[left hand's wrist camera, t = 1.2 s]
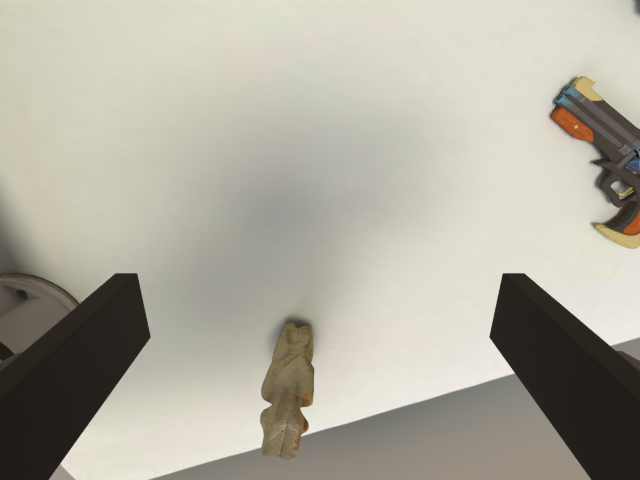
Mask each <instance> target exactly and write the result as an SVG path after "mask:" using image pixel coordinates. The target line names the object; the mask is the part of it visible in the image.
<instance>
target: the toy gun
mask: <svg viewBox="0 0 640 480" xmlns="http://www.w3.org/2000/svg"><path fill="white" fill-rule="evenodd" d="M595 83H596V82H595V81H593V80H591V79H589V78H587V77H585V76H584V77H582V76H581V77H578V78H577V79H576V80H575V81H574V82H573V84H570V85H568V86H567V87H566V88H565V89H564V90H563V93H564V94H561V95H560V96H558V98H557V99H556V101H555V102H557V103H556V105H558V106H559V107H558V108H557V109H556V110H555V111H554V112H553V113H552V115H551V118H553V119H554V120H555V121H556V122H557V123H558V124H559V125H560V126H561V127H562V128H564V129H565V130H566V131H567V132H568V133H569V134H571V135H572V136H573V137H574V138H577V139H581V140H585V141H590V142H592V143H593V144H595V145H596V146H597V147H598V148H600V149H601V150H602V151H603V153H604V154H605V156H606V158H607V160H600V161H596V162H593V163H594V164H596V165H598V166H602V167H605V168H606V169H608V170H609V171H608V174H607V175H605V176H604V177H603V178H602V179H601V181H600V184H599V187H600V188H601V189H602V190H603V191H605V192H606V193H607V195H608V196H609V197H610V199H611V201H612V203H613V205H614V206H616V207H618V208H619V207H621V206H623V205H624V204H626V203H628V202H630V201H631V204H630V205H629V207H628V209H627V211H626V212H625V214H624V215H623V216H622V217H621V218H619V219H618V220H616V221H615V222H613V223H611V224H609V225H603V224H597V225H596V226H595V227H596V228H597V229H598V230H599V231H600V232H602V233H603V234H604V235H606V236H607V237H609V238H610V239H612V240H613V241H615V242H616V243H618V244H619V245H621V246H624V247H626V248H630V249H635V248H638V247H639V246H640V178H639V177H638V176H636V175H635V174H634V173H633V172H637V173H640V149H639V148H640V129H638V128H637V127H635V126H634V125H633V124H632V123H630V122H629V121H628V120H627V119H626V118H624V117H623V116H622V115H621V114H620V113H618V112H617V111H616V110H615V109H614V108H612V107H611V106H610V105H609V104H608V103H606V102H605V101H604V99H603V98H602V97H601V96H599V95H598V94H597V93H596V92H595V91H594V90H593V89H591V87H592V86H593V85H594V84H595ZM624 165H625V166H626V168H627V169H626V168H624V167H623V166H624ZM628 166H629V167H631V168H633V169H635V170H637V171H635V170H632V169H630V168H629V167H628ZM628 169H629V170H628ZM630 170H631V171H633V172H631V171H630ZM638 171H639V172H638ZM618 180H623V181H624V182H625V183H626V184H628V185H629V186H630V187H629V188H628V189H627V190H626V191H624V192H622V193H621V192H618V191H617V194H618V195H617V194H616V192H615V191H614V190H613V189H612V188H611V187H610V186H611V184H612V183H614V182H615V181H618ZM631 189H632V190H631ZM630 190H631V191H630ZM628 191H630V192H628ZM627 192H628V193H627ZM625 193H626V194H625ZM630 193H631V194H630ZM628 194H629V195H628ZM625 195H628V196H627V197H625V198H623V199H619V197H618V196H620V197H622V196H625Z"/></svg>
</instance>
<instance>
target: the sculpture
mask: <svg viewBox="0 0 640 480" xmlns="http://www.w3.org/2000/svg"><path fill="white" fill-rule="evenodd" d="M312 357H313V340H312V336H311V328H310V327H307V326H302V327H301V328H297V327H296V326H295V324H293V323H286V324H285V326H284V329H283V331H282V334H281V336H280V337H279V340H278V342H277V344H276V347H275V350H274V353H273V358H272V363H271V365H270V367H269V369H268V372H267V374H266V377H265V380H264V382H263V385H262V389H261V395H262V398H263V399H264V400H265V401H267V402H269V403H271V404H272V405H271V406H270V407H268V408H267V409H265V410H263V412H262V413H261V417H260V422H261V425H262V427H263V432H264V438H263V443H262V454H263V456H279V457H281V458H283V459H287V460H293V459H295V457H296V454H297V451H298V447H299V443H300V438H301V435H302V434H303V433H305V432H306V431H307V430H308V427H309V424H308V422H307V420H306V419H305V417H304V416H303V414H302V412H301V410H300V407H308V406H310V405H312V403H313V393H314V368H313V366H312V364H311V361H312Z"/></svg>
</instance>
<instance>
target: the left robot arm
mask: <svg viewBox="0 0 640 480" xmlns="http://www.w3.org/2000/svg"><path fill="white" fill-rule="evenodd" d="M149 339H150V332H149V327H148V323H147V318H146V313H145V308H144V304H143V299H142V294H141V289H140V285H139V280H138V275H137V273H116V274H115V275H113V276H112V277H111V278H110V279H109V280H107V281H106V282H105V283H104V284H103V285H102V286H100V287H99V288H98V289H97V290H96V291H94V292H93V293H92V294H91V295H90V296H89V297H87V298H86V299H85V300H84V301H83V302H81V303H80V304H79V305H78V304H77V303H76V301H75V300H74V299H73V298H72V297H70V296H69V295H68V294H67V293H66V292H64V291H63V290H62V289H60V288H58V287H57V286H55V285H53V284H51V283H49V282H47V281H45V280H42V279H40V278H37V277H33V276H29V275H22V274H6V275H1V276H0V480H49V478H50V477H51V476H52V474H53V473H54V471H55V470H56V469H57V467H58V466H59V464H60V463H61V462H62V460H63V459H64V457H65V456H66V455H67V453H68V452H69V450H70V449H71V448H72V446H73V445H74V443H75V442H76V441H77V439H78V438H79V436H80V435H81V434H82V432H83V431H84V429H85V428H86V427H87V425H88V424H89V422H90V421H91V420H92V418H93V417H94V416H95V414H96V413H97V411H98V410H99V409H100V407H101V406H102V404H103V403H104V402H105V400H106V399H107V397H108V396H109V395H110V393H111V392H112V390H113V389H114V388H115V386H116V385H117V383H118V382H119V381H120V379H121V378H122V376H123V375H124V374H125V372H126V371H127V369H128V368H129V367H130V365H131V364H132V362H133V361H134V360H135V358H136V357H137V355H138V354H139V353H140V351H141V350H142V349H143V347H144V346H145V344H146V343H147V342H148V340H149ZM490 339H491V340H492V342H493V343H494V344H495V346H496V347H497V349H498V350H499V351H500V353H501V354H502V355H503V357H504V358H505V360H506V361H507V362H508V364H509V365H510V367H511V368H512V369H513V371H514V372H515V374H516V375H517V376H518V378H519V379H520V380H521V382H522V383H523V385H524V386H525V388H526V389H527V390H528V392H529V393H530V394H531V396H532V397H533V399H534V400H535V402H536V403H537V404H538V406H539V407H540V408H541V410H542V411H543V413H544V414H545V416H546V417H547V418H548V420H549V421H550V422H551V424H552V425H553V427H554V428H555V429H556V431H557V432H558V434H559V435H560V436H561V438H562V439H563V441H564V442H565V443H566V445H567V446H568V448H569V449H570V450H571V452H572V453H573V455H574V456H575V457H576V459H577V460H578V462H579V463H580V464H581V466H582V467H583V469H584V470H585V471H586V473H587V474H588V476H589V477H590V478H591V480H640V361H639V360H637V359H635V358H633V357H632V356H630V355H628V354H626V353H624V352H622V351H615V350H614V349H613V348H612V347H611V346H609V345H608V344H607V343H606V342H605V341H603V340H602V339H601V338H600V337H599V336H598V335H596V334H595V333H594V332H593V331H592V330H590V329H589V328H588V327H587V326H586V325H585V324H583V323H582V322H581V321H580V320H579V319H577V318H576V317H575V316H574V315H573V314H572V313H570V312H569V311H568V310H567V309H566V308H564V307H563V306H562V305H561V304H560V303H559V302H557V301H556V300H555V299H554V298H553V297H551V296H550V295H549V294H548V293H547V292H546V291H544V290H543V289H542V288H541V287H540V286H538V285H537V284H536V283H535V282H534V281H533V280H531V279H530V278H529V277H528V276H527V275H525V274H524V273H503V275H502V280H501V285H500V289H499V294H498V299H497V304H496V308H495V313H494V318H493V323H492V327H491V332H490Z"/></svg>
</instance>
